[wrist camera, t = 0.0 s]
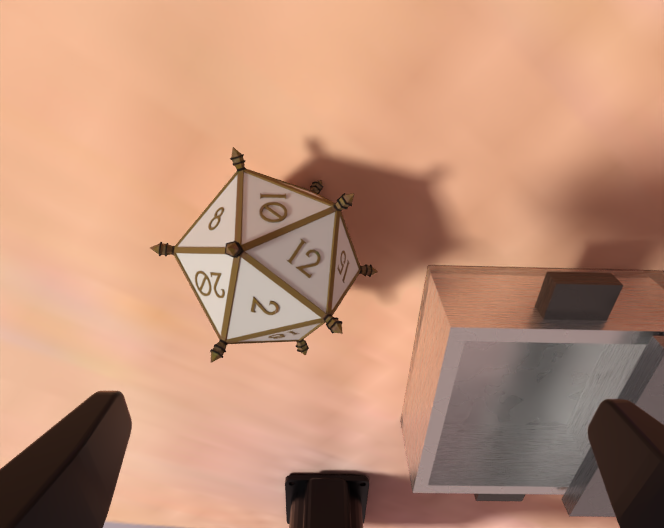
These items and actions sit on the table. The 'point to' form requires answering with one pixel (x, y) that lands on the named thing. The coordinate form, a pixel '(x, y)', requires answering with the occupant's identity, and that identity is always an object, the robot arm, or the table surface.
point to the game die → (268, 260)
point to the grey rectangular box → (519, 373)
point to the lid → (645, 392)
